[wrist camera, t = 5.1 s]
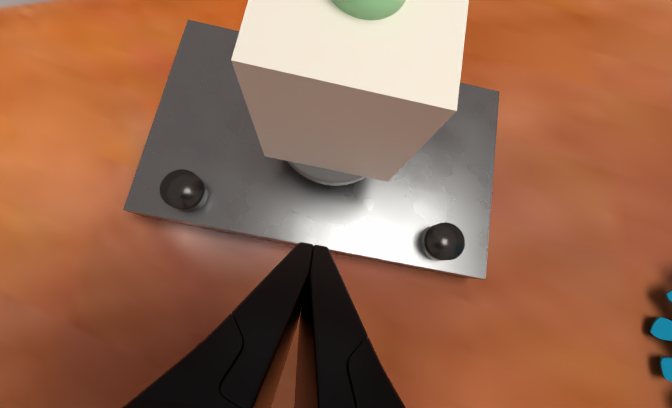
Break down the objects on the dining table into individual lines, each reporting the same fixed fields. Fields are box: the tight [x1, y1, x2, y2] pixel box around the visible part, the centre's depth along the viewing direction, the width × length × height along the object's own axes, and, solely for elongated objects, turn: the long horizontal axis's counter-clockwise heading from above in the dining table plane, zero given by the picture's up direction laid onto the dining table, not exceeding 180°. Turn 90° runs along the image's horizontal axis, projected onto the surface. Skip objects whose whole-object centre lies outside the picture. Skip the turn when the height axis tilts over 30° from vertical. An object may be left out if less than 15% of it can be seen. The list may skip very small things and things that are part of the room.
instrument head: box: [231, 0, 469, 186], centre depth 13 cm, size 10×6×9 cm, turn 170°
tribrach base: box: [124, 20, 499, 279], centre depth 19 cm, size 12×20×3 cm, turn 80°
